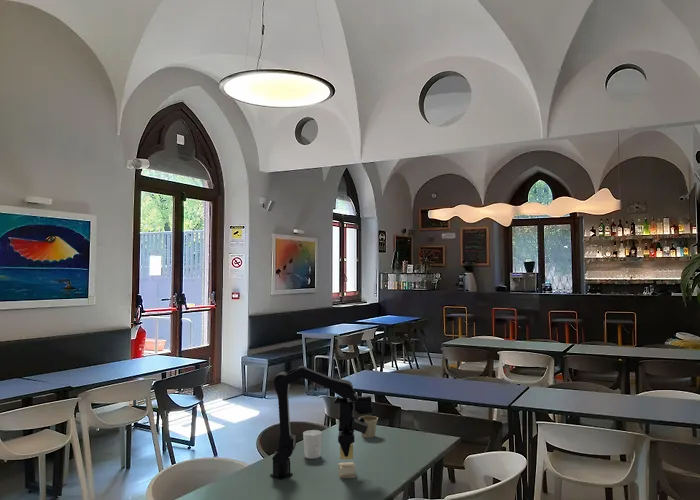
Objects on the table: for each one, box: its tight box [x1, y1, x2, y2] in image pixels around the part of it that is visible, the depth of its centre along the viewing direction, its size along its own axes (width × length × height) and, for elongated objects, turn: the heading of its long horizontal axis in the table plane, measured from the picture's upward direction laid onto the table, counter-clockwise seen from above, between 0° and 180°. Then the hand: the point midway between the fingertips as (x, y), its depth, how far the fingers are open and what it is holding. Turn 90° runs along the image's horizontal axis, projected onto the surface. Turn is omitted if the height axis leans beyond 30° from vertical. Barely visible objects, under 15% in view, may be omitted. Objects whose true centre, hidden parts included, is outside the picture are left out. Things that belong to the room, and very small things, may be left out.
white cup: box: [302, 429, 322, 460], centre depth 239 cm, size 8×8×10 cm
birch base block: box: [338, 461, 357, 479], centre depth 216 cm, size 6×6×4 cm
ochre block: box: [339, 443, 354, 460], centre depth 216 cm, size 5×5×5 cm
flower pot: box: [358, 415, 379, 439], centre depth 266 cm, size 9×9×9 cm
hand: (346, 454), depth 216 cm, fingers closed on ochre block, 5 cm apart
